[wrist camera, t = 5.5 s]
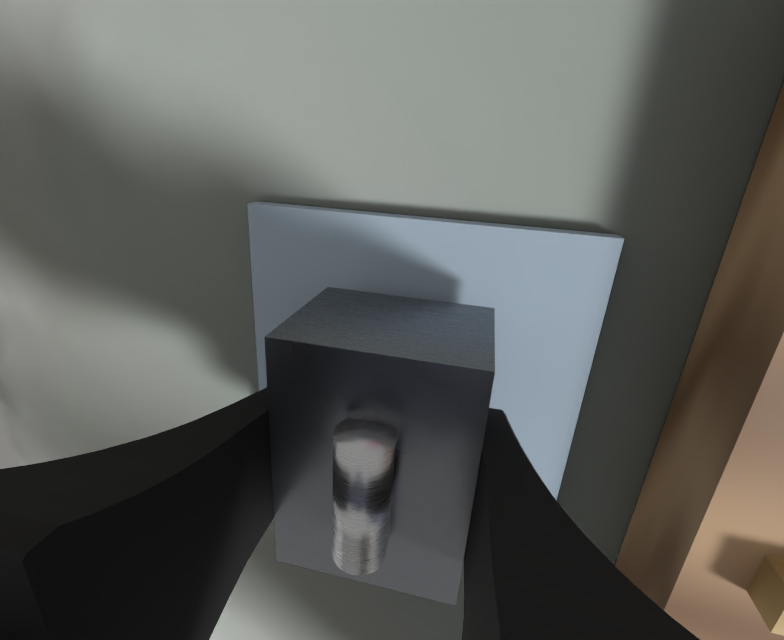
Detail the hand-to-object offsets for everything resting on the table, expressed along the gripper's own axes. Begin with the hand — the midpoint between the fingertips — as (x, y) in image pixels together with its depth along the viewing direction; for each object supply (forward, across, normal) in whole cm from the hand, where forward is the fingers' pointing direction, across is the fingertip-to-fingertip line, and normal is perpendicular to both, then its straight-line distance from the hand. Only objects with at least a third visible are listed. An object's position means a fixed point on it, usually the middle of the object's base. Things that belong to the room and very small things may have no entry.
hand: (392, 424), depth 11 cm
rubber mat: (+3, 0, 0) cm, 3 cm away
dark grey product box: (+1, 0, 0) cm, 1 cm away
